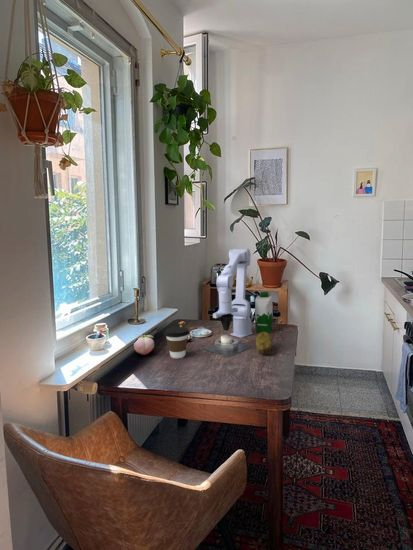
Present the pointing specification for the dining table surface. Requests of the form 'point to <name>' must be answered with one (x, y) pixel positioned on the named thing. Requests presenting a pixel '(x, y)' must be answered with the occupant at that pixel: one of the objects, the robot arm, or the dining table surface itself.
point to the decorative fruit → (144, 344)
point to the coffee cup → (177, 341)
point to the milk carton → (263, 312)
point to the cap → (226, 339)
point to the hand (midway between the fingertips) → (226, 330)
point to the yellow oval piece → (263, 343)
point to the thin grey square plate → (226, 348)
